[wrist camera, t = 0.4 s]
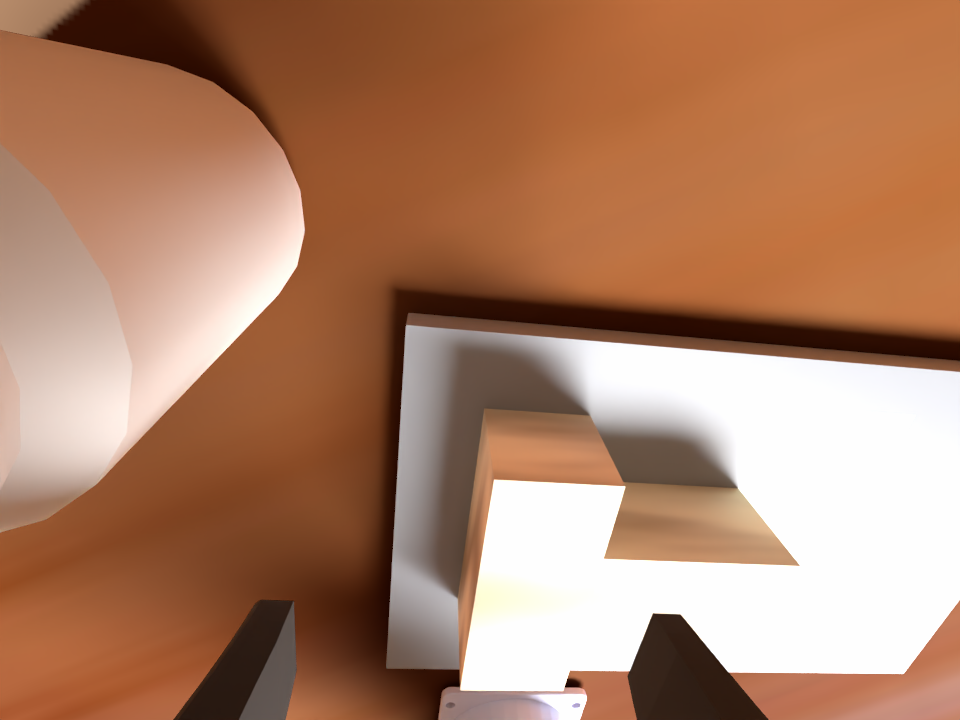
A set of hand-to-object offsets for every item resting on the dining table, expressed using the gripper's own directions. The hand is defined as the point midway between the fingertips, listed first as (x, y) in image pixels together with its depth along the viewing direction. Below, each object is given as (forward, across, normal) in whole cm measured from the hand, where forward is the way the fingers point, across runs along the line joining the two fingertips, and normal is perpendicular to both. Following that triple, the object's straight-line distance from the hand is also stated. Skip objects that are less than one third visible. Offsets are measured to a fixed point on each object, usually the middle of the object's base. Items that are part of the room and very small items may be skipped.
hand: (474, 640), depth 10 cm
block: (+9, -6, +5) cm, 12 cm away
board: (+10, -12, +6) cm, 17 cm away
